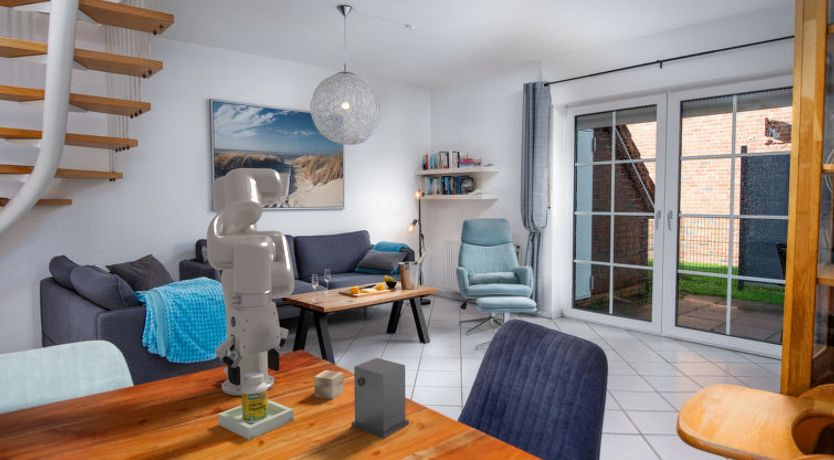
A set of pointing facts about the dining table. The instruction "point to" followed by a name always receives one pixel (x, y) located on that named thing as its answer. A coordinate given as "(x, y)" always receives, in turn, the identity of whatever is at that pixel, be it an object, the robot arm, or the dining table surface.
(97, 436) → the dining table surface
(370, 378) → the tabletop unit
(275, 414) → the tray
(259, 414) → the supplement bottle
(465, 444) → the dining table surface
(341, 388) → the beech block
